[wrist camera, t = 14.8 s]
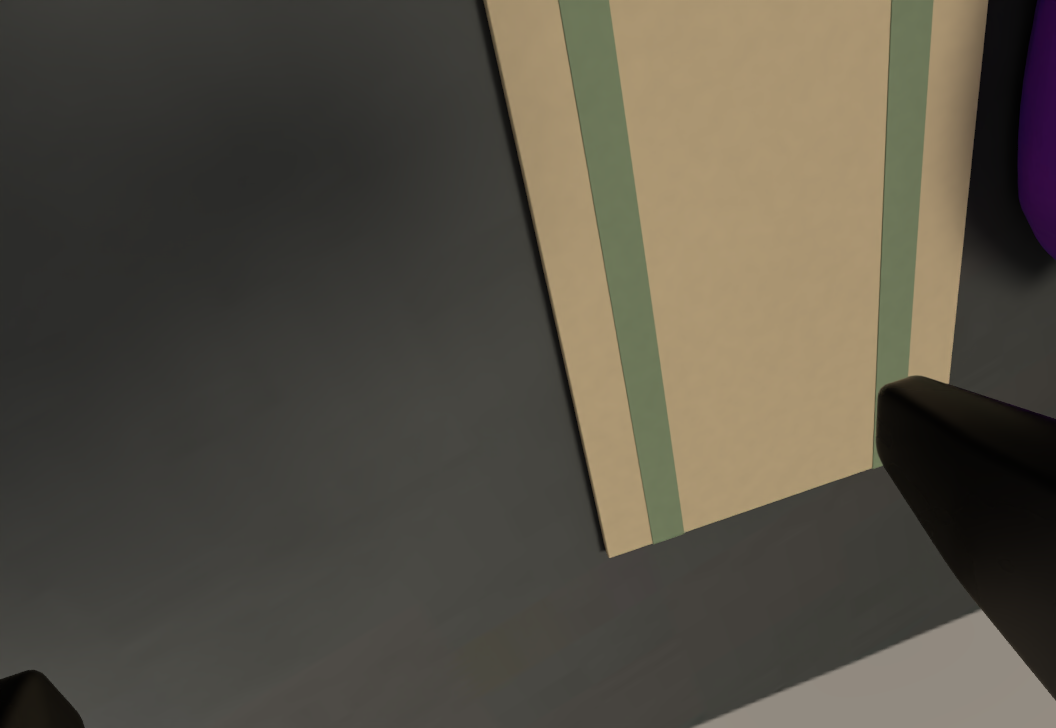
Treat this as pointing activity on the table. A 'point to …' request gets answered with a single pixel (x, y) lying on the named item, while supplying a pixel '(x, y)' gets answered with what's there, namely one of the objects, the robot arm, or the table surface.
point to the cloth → (740, 231)
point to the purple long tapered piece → (1039, 129)
